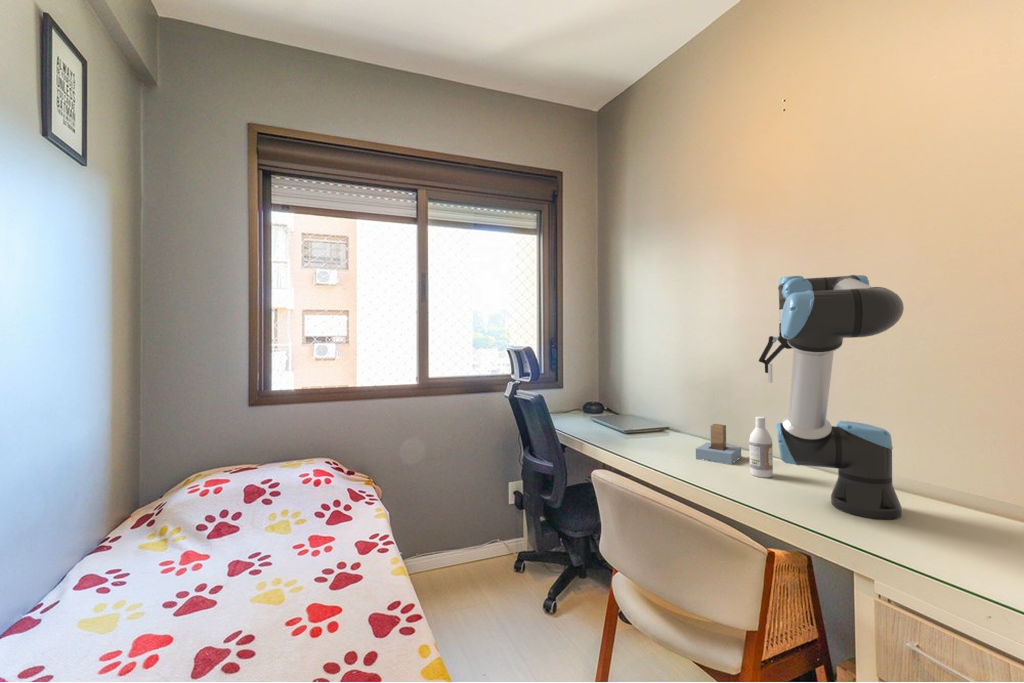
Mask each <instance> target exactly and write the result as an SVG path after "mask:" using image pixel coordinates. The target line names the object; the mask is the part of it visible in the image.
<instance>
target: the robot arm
mask: <svg viewBox="0 0 1024 683" xmlns="http://www.w3.org/2000/svg"><path fill="white" fill-rule="evenodd" d="M777 289H778V307H779V308H778V321H779V324H778V326H779V329H778V331H779V335H778V336H773V335H770V336H769V337H768V342H767V344H766V346H765V348H764V350H763V351H762V354H761V356H759V359H758V362H760V363H763V364H764V372H765V374H768V375H767V377H768V380H767V381H768V382H767V383H768V384H771V383H773V363H771V362H772V361H773V360H774V359H775V358H776V357H777V356H778V355H779V354H780V353H781V352H782V351H783V350H784V349H786V350H790V349H793V352H792V366H791V379H790V381H791V382H790V395H789V396H790V397H789V410H788V414H786V415H784V417H783V418H782V421H781V422H777V423H776V425H775V430H776V434H777V436H776V437H777V443H778V448H779V449H778V450H779V456H780V460H781V461H782V462H784V463H785V464H788V465H789V464H790V465H795V466H798V467H799V466H804V467H805V466H806V467H817V468H830V469H837V470H838V472H837V473H838V474H837V475H838V476H837V480H836V482H835V484H834V487H833V489H832V491H831V495H830V502H831V503H830V504H831V505H832V506H834V507H835V508H837V509H838V510H841V511H842V512H845V513H848V514H851V515H855V516H859V517H863V518H864V517H865V518H871V519H876V520H877V519H878V518H879V519H878V520H893V519H892V518H895V519H898V518H897V517H899V518H900V516H901V517H902V506H901V503H900V500H899V497H898V495H897V493H896V490H895V487H894V485H893V449H894V448H893V442H892V435H891V433H890V432H889V431H888V430H887V429H885V428H882V427H879V426H876V425H871V424H868V423H867V424H866V423H864V422H863V423H862V422H855V421H850V420H849V421H848V420H840V421H837V423H836V426H834V425H833V426H832V424H831V422H830V421H829V420H828V419H827V412H828V406H829V405H828V403H829V396H830V389H831V388H830V387H831V378H832V370H833V360H834V352H836V351H837V350H839V349H840V348H841V347H842V345H843V341H844V339H847V338H850V339H852V338H867V337H872V336H876V335H879V334H881V333H884V332H886V331H888V330H889V329H890V328H892V327H893V326H895V325H896V324H897V323H898V322H899V321H900V319H901V318H902V316H903V313H904V310H905V309H904V302H903V299H902V298H901V297H900V295H899V294H897V293H896V292H894V291H893V290H892V289H889V288H886V287H883V286H882V287H881V286H871V285H870V280H869V279H868V277H867V276H866V275H864V274H859V275H858V274H857V275H856V274H851V275H841V276H839V275H838V276H827V277H826V276H825V277H810V278H809V277H807V278H805V277H804V276H802V275H789V276H783V277H780V278H779V279H778V287H777ZM777 341H778V342H779V343H780V344H779V345H778V347H777V348H776V349H775V350H774V351H773V352H772V353H771V355H769V353H770V351H771V349H772V347H773V345H774V344H775V343H777ZM768 355H769V357H767V356H768Z"/></svg>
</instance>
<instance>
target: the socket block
mask: <svg viewBox="0 0 1024 683" xmlns="http://www.w3.org/2000/svg"><path fill="white" fill-rule="evenodd" d="M740 457H741V458H742V446H735V445H729V444H726V450H725V451H723V450H716V449H711V442H705V443H703V444H702V445H699V446H698V447H696V448H695V459H696V458H699V459H698V460H700V459H704V460H703V461H706V460H710V461H709V462H712V461H716V462H715V463H718V462H723V463H722V464H724V463H729V464H728V465H730V464H732V463H733V462H734V461H736V460H737V459H738V458H740ZM741 458H740V459H741ZM738 460H739V459H738ZM738 460H737V461H738ZM737 461H736V462H737ZM734 463H735V462H734ZM734 463H733V464H734ZM733 464H732V465H733Z"/></svg>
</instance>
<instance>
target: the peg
mask: <svg viewBox="0 0 1024 683" xmlns="http://www.w3.org/2000/svg"><path fill="white" fill-rule="evenodd" d="M710 443H711V449H716V450H723V451H725V450H726V445H727V424H719V423H713V424H711V425H710Z"/></svg>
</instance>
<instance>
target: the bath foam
mask: <svg viewBox="0 0 1024 683" xmlns="http://www.w3.org/2000/svg"><path fill="white" fill-rule="evenodd" d="M748 440H749V442H748V445H749V446H748V448H749V449H748V451H749V453H748V454H749V456H748V457H749V458H748V459H749V474H750V475H752V476H753V475H754V477H758V478H763V477H764V478H765V479H767V478H771V477H773V476H774V472H773V470H774V467H773V464H774V462H773V438H772V436H771V434H770V432H769V431H768V430H767V429H766V417H765V416H755V427H754V429H753V430H752V431H751V433H750V436H749V439H748Z"/></svg>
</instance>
